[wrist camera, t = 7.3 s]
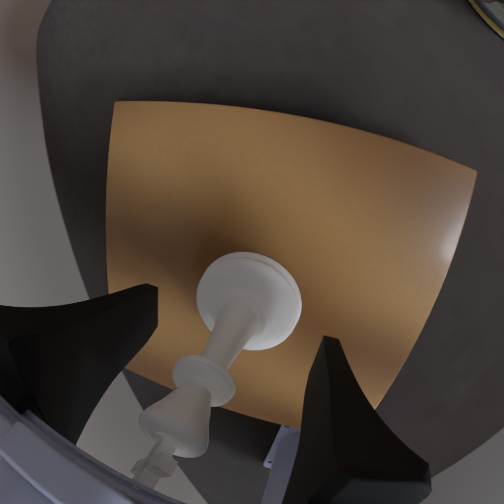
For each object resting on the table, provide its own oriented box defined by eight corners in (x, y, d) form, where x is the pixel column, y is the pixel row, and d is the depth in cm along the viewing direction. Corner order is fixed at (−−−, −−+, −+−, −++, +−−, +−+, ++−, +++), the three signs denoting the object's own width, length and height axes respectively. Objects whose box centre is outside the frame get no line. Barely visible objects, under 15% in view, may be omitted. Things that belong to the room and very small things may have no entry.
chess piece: (182, 295, 15) (46, 439, 6) (243, 228, 13) (70, 395, 4) (253, 358, 15) (175, 530, 6) (324, 305, 13) (287, 531, 4)
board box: (354, 397, 19) (353, 439, 16) (144, 335, 22) (117, 364, 19) (445, 164, 13) (478, 170, 9) (155, 107, 16) (114, 101, 12)
